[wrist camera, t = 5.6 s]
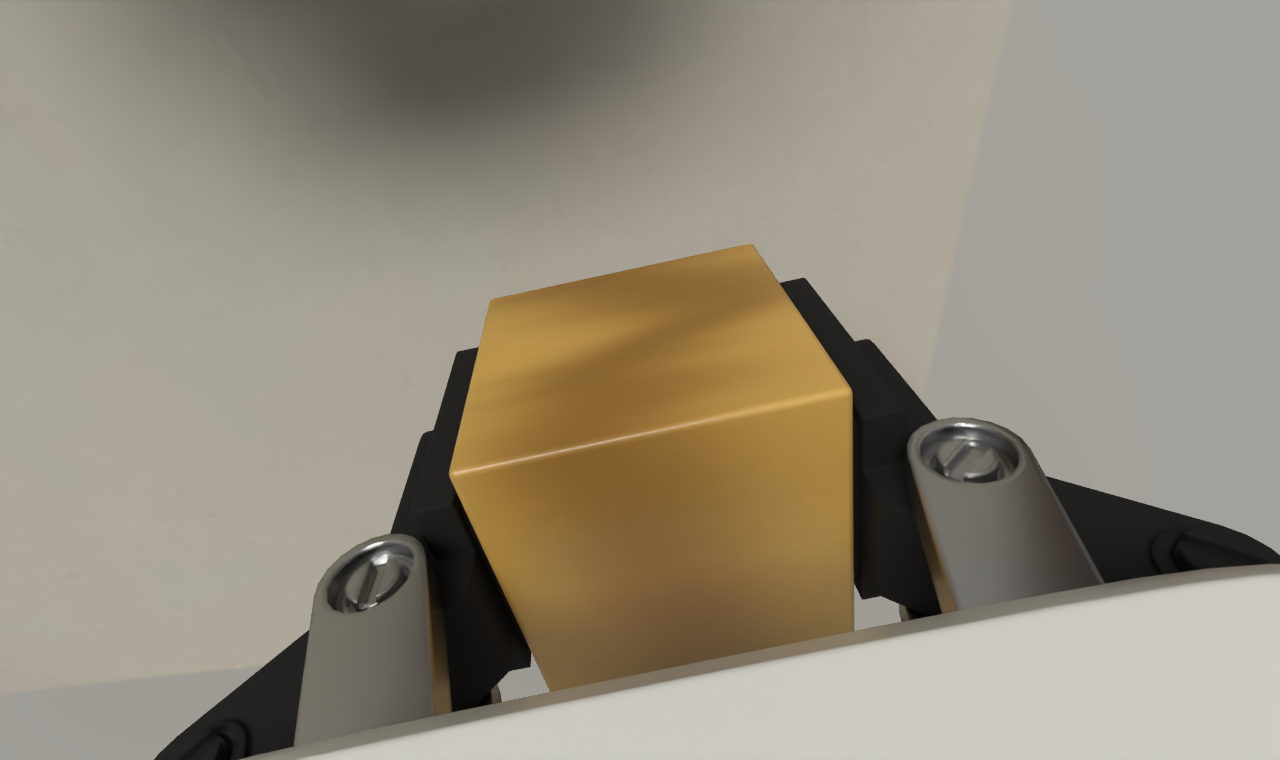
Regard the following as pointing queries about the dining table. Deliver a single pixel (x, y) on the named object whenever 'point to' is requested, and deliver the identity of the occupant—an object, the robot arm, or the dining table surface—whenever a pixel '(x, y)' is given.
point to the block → (660, 468)
